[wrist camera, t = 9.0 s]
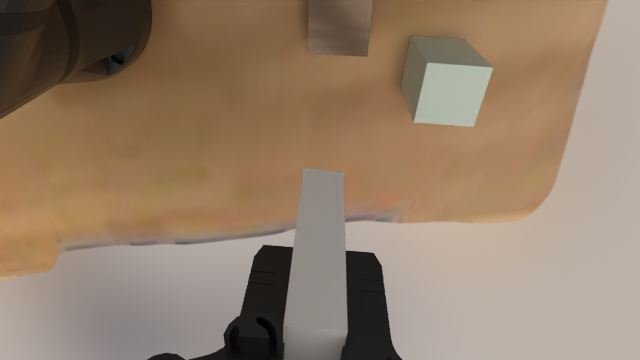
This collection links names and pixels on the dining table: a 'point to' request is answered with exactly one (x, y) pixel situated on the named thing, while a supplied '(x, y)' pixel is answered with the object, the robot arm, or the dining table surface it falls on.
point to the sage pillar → (444, 80)
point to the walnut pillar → (339, 27)
